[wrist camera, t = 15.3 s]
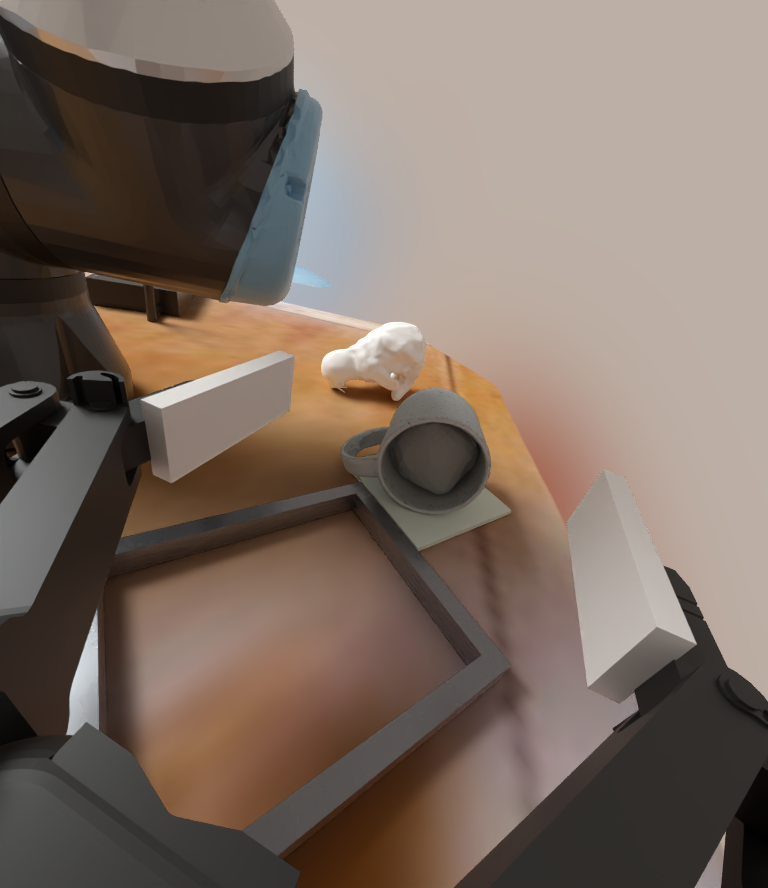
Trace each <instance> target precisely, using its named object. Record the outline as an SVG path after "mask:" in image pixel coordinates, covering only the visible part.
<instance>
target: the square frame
mask: <svg viewBox="0 0 768 888" xmlns="http://www.w3.org/2000/svg"><path fill="white" fill-rule="evenodd" d="M352 509H353V511H354V512H355V513H356V515H357V516H358V517H359V519H360V520H361V521H362V523H363V524H364V526H365V527H366V528H367V530H368V531H369V532H370V534H371V535H372V537H373V538H374V539H375V541H376V542H377V543H378V545H379V546H380V547H381V549H382V550H383V552H384V553H385V554H386V556H387V557H388V558H389V560H390V561H391V563H392V564H393V565H394V567H395V568H396V569H397V571H398V572H399V574H400V575H401V576H402V578H403V579H404V580H405V582H406V583H407V584H408V586H409V587H410V589H411V590H412V591H413V593H414V594H415V595H416V597H417V598H418V600H419V601H420V602H421V604H422V605H423V606H424V608H425V609H426V610H427V612H428V613H429V615H430V616H431V617H432V619H433V620H434V621H435V623H436V624H437V626H438V627H439V628H440V630H441V631H442V632H443V634H444V635H445V636H446V638H447V639H448V641H449V642H450V643H451V645H452V646H453V647H454V649H455V650H456V652H457V653H458V654H459V656H460V657H461V658H462V660H463V661H464V662H465V664H466V665H467V666H466V667H465V668H464V669H462V670H461V671H459V672H458V673H457V674H455V675H454V676H453V677H451V678H450V679H449V680H447V681H446V682H444V683H443V684H442V685H440V686H439V687H438V688H436V689H435V690H434V691H432V692H431V693H429V694H428V695H427V696H425V697H424V698H423V699H421V700H420V701H419V702H417V703H416V704H414V705H413V706H412V707H410V708H409V709H408V710H406V711H405V712H404V713H402V714H401V715H399V716H398V717H397V718H395V719H394V720H393V721H391V722H390V723H389V724H387V725H386V726H384V727H383V728H382V729H380V730H379V731H378V732H376V733H375V734H373V735H372V736H371V737H369V738H368V739H367V740H365V741H364V742H363V743H361V744H360V745H358V746H357V747H356V748H354V749H353V750H352V751H350V752H349V753H348V754H346V755H345V756H343V757H342V758H341V759H339V760H338V761H337V762H335V763H334V764H333V765H331V766H330V767H328V768H327V769H326V770H324V771H323V772H322V773H320V774H319V775H318V776H316V777H315V778H313V779H312V780H311V781H309V782H308V783H307V784H305V785H304V786H303V787H301V788H300V789H298V790H297V791H296V792H294V793H293V794H292V795H290V796H289V797H287V798H286V799H285V800H283V801H282V802H281V803H279V804H278V805H277V806H275V807H274V808H272V809H271V810H270V811H268V812H267V813H266V814H264V815H263V816H262V817H260V818H259V819H257V820H256V821H255V822H253V823H252V824H251V825H249V826H248V827H247V828H245V829H244V830H242V831H243V832H244V833H245V834H247V835H248V836H250V837H251V838H253V839H254V840H255V841H257V842H258V843H260V844H261V845H262V846H264V847H265V848H267V849H268V850H270V851H271V852H272V853H274V854H275V855H277V856H278V857H280V858H281V859H282V860H283V859H284V858H286V857H287V856H288V855H289V854H290V853H292V852H293V851H294V850H295V849H296V848H298V847H299V846H300V845H301V844H302V843H304V842H305V841H306V840H307V839H308V838H310V837H311V836H312V835H313V834H315V833H316V832H317V831H318V830H319V829H321V828H322V827H323V826H324V825H325V824H327V823H328V822H329V821H330V820H331V819H333V818H334V817H335V816H336V815H337V814H339V813H340V812H341V811H342V810H343V809H345V808H346V807H347V806H348V805H349V804H351V803H352V802H353V801H354V800H355V799H357V798H358V797H359V796H360V795H362V794H363V793H364V792H365V791H366V790H368V789H369V788H370V787H371V786H372V785H374V784H375V783H376V782H377V781H378V780H380V779H381V778H382V777H383V776H384V775H386V774H387V773H388V772H389V771H390V770H392V769H393V768H394V767H395V766H396V765H398V764H399V763H400V762H401V761H402V760H404V759H405V758H406V757H407V756H408V755H410V754H411V753H412V752H413V751H415V750H416V749H417V748H418V747H419V746H421V745H422V744H423V743H424V742H425V741H427V740H428V739H429V738H430V737H431V736H433V735H434V734H435V733H436V732H437V731H439V730H440V729H441V728H442V727H443V726H445V725H446V724H447V723H448V722H449V721H451V720H452V719H453V718H454V717H455V716H457V715H458V714H459V713H460V712H461V711H463V710H464V709H465V708H466V707H468V706H469V705H470V704H471V703H472V702H474V701H475V700H476V699H477V698H478V697H480V696H481V695H482V694H483V693H484V692H486V691H487V690H488V689H489V688H490V687H492V686H493V685H494V684H495V683H496V682H498V681H499V680H500V678H501V677H502V676H503V675H504V673H505V672H506V671H507V670H508V668H509V667H510V666H511V664H510V663H509V661H508V660H507V659H506V658H505V656H504V655H503V654H502V653H501V652H500V650H499V649H498V648H497V647H496V645H495V644H494V643H493V642H492V641H491V639H490V638H489V637H488V636H487V634H486V633H485V632H484V631H483V630H482V628H481V627H480V626H479V625H478V623H477V622H476V621H475V620H474V619H473V617H472V616H471V615H470V614H469V612H468V611H467V610H466V609H465V608H464V606H463V605H462V604H461V603H460V601H459V600H458V599H457V598H456V597H455V595H454V594H453V593H452V592H451V590H450V589H449V588H448V587H447V586H446V584H445V583H444V582H443V581H442V579H441V578H440V577H439V576H438V575H437V573H436V572H435V571H434V570H433V568H432V567H431V566H430V565H429V564H428V562H427V561H426V560H425V559H424V557H423V556H422V555H421V554H420V553H419V551H418V550H417V549H416V548H415V546H414V545H413V544H412V543H411V542H410V540H409V539H408V538H407V537H406V535H405V534H404V533H403V532H402V531H401V529H400V528H399V527H398V526H397V524H396V523H395V522H394V521H393V520H392V518H391V517H390V516H389V515H388V513H387V512H386V511H385V510H384V509H383V507H382V506H381V505H380V504H379V502H378V501H377V500H376V499H375V498H374V496H373V495H372V494H371V493H370V492H369V490H368V489H367V488H366V487H365V485H364V484H363V483H362V482H357V483H353V484H349V485H345V486H340V487H336V488H332V489H327V490H323V491H319V492H315V493H310V494H306V495H302V496H298V497H293V498H289V499H285V500H280V501H276V502H272V503H268V504H263V505H259V506H255V507H251V508H246V509H242V510H238V511H233V512H229V513H225V514H221V515H216V516H212V517H208V518H204V519H199V520H195V521H191V522H186V523H182V524H178V525H174V526H169V527H165V528H161V529H157V530H152V531H148V532H144V533H140V534H135V535H131V536H127V537H122V538H120V541H119V544H118V547H117V550H116V553H115V556H114V559H113V562H112V565H111V568H110V571H109V574H108V577H107V578H111V577H114V576H118V575H121V574H125V573H128V572H132V571H136V570H139V569H143V568H146V567H150V566H153V565H157V564H160V563H164V562H167V561H171V560H175V559H178V558H182V557H185V556H189V555H192V554H196V553H199V552H203V551H206V550H210V549H214V548H217V547H221V546H224V545H228V544H231V543H235V542H238V541H242V540H245V539H249V538H253V537H256V536H260V535H263V534H267V533H270V532H274V531H277V530H281V529H284V528H288V527H292V526H295V525H299V524H302V523H306V522H309V521H313V520H316V519H320V518H323V517H327V516H330V515H334V514H338V513H341V512H345V511H348V510H352ZM86 722H87V723H89V724H90V725H92V726H93V727H95V728H96V729H97V730H99V731H100V732H102V733H103V734H105V735H106V736H107V705H106V669H105V632H104V596H103V592H102V595H101V598H100V601H99V604H98V607H97V610H96V613H95V616H94V619H93V622H92V625H91V628H90V631H89V634H88V637H87V641H86V644H85V647H84V650H83V653H82V656H81V659H80V662H79V665H78V668H77V671H76V674H75V677H74V680H73V683H72V687H71V691H70V717H69V724H68V730H67V734H66V735H74V734H75V733H76V732H77V731H78V730H79V729H80V728H81V727H82V726H83V725H84V724H85V723H86Z"/></svg>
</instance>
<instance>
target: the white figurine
mask: <svg viewBox="0 0 768 888" xmlns="http://www.w3.org/2000/svg"><path fill="white" fill-rule="evenodd" d="M425 347H426V343H425V340H424V337H423V335H422V334H421V332H420V331H419V329H418V328H417V327H416V326H415V325H412V324H408V323H405V322H392V323H388V324H385V325H383V326H382V327H380V328H378V329H375V330H373V331H371V332H370V333H369V334H368V335H367V336H366V337H364V338H362V339H360V340H359V341H358V342H357V343H356V344H355V345H352V346H351V347H350V348H348V349H340V350H336V351H332V352H330V353H328V354H327V355H326V356H325V357H324V359H323V361H322V365H321V372H322V375H323V377H324V378H325V379H326V380H327V381H328V382H329V384H330V386H331V388H338V389H339V390H341V389H340V388H348V387H343V386H345V385H344V384H346V383H345V382H347V381H350V380H357V379H358V380H363V381H365V382H369V383H377V384H378V385H380V386H382V387H384V388H386V389H388V390H392V392H391V397H392V399H393V401H398V400H400V399H401V398H402V397H403V396H404V394H405V393H406V392H408V391H409V390H410V388H411V386H412V385H413V384H414V382H415V380H416V379H417V378H418V376H419V374H420V371H421V369H422V368H423V366H424V365H425V363H426V362H425V358H424V355H425ZM341 391H342V392H344V391H343V390H341ZM344 393H345V392H344Z"/></svg>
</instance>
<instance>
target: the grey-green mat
mask: <svg viewBox="0 0 768 888" xmlns="http://www.w3.org/2000/svg"><path fill="white" fill-rule="evenodd" d="M374 457H377V454H375V455H370V456H364V457H363V458H374ZM359 458H361V457H359ZM354 476H355V475H354ZM355 478H356V479H357V480H358V481H359V482H362V483H363V484H364V485H365V487H366V488H367V489H368V490H369V492H370V493H371V494H372V495H373V496H374V498H375V499H376V500H377V501H378V502H379V504H380V505H381V506H382V507H383V509H384V510H385V511H386V512H387V513H388V515H389V516H390V517H391V518H392V520H393V521H394V522H395V523H396V524H397V526H398V527H399V528H400V529H401V531H402V532H403V533H404V534H405V535H406V537H407V538H408V539H409V540H410V542H411V543H412V544H413V545H414V546H415V548H416V549H417V550H418V551H421V550H423V549H426V548H428V547H431V546H433V545H435V544H438V543H440V542H443V541H445V540H448V539H450V538H452V537H455V536H457V535H460V534H462V533H465V532H467V531H469V530H472V529H474V528H477V527H479V526H482V525H484V524H486V523H489V522H491V521H494V520H496V519H499V518H501V517H503V516H506V515H508V514H510V513H511V511H512V510H511V509H510V508H508V507H507V506H506V505H505V504H504V503H503V502H501V501H500V500H499V499H498V498H497V497H496V496H494V495H493V494H492V493H491V492H490V491H489V490H487V489H486V488H485V487H484V489H483V490H482V492H481V493H480V494H479V495H478V496H477V498H476V499H475V500H473V501H472V502H471V503H470V504H468V505H467V506H465V507H464V508H461V509H459V510H457V511H454V512H450V513H446V514H436V515H430V514H424V513H419V512H415V511H412V510H410V509H407V508H405V507H403V506H402V505H400V504H398V503H397V502H395V501H394V500H393V499H392V498H391V497H390V496H389V495H388V494H387V493H386V492H385V490H384V489H383V487H382V485H381V483H380V481H379V478H378V477H361V476H355Z"/></svg>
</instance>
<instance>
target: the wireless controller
mask: <svg viewBox="0 0 768 888" xmlns="http://www.w3.org/2000/svg"><path fill="white" fill-rule="evenodd" d="M86 282H87V287H88V291H89V296H90V299H91V301H92V304H93V305H96V306H104V307H111V308H118V309H126V310H133V311H140V312H147V319H148V321H149V322H157V317H158V316H159V315H160V314H163V315H169V316H173V315H175V316H177V317H179V316H180V315H181V313H182V312H183V311H184V309H185V308H186V306H187V305H188V304H189V302H190V301H191V299H192V298H193V297H194V295H191V294H187V293H182V292H177V291H173V290H168V289H164V288H159V287H154V286H150V285H145V284H140V283H136V282H131V281H126V280H122V279H117V278H112V277H108V276H103V275H98V274H97V275H96V274H92V275H90V276H87V277H86ZM97 304H98V305H97Z"/></svg>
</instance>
